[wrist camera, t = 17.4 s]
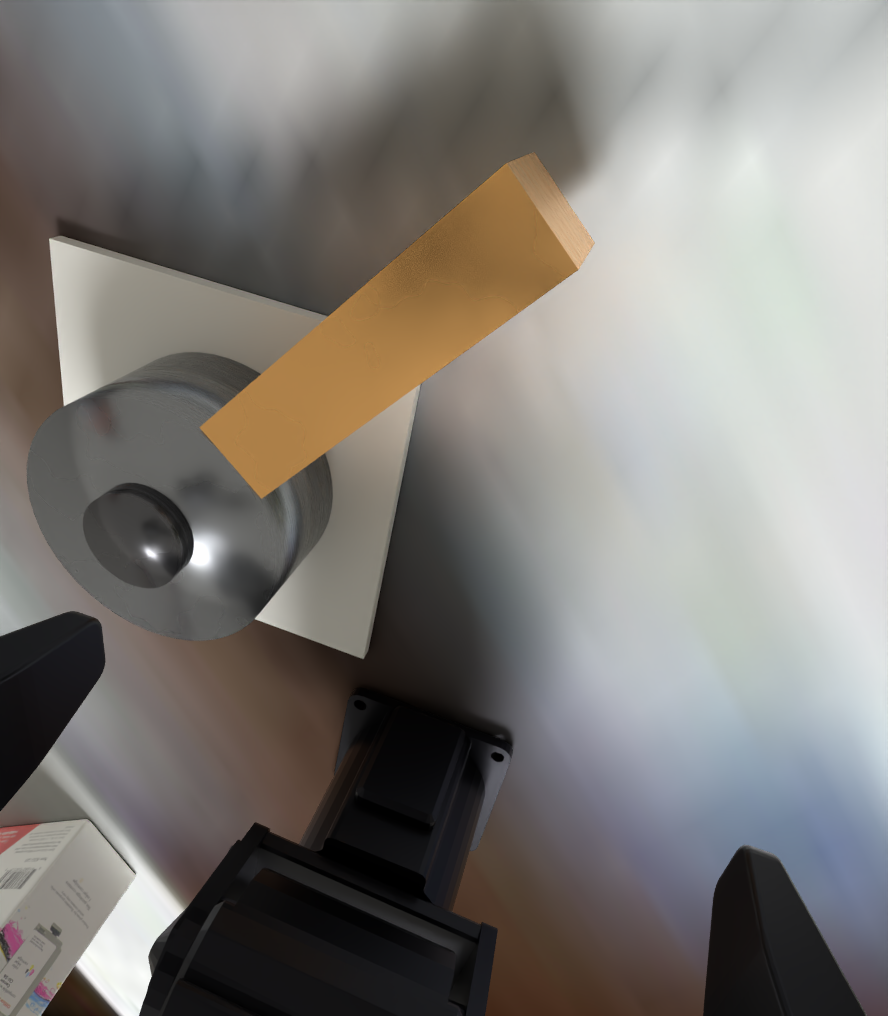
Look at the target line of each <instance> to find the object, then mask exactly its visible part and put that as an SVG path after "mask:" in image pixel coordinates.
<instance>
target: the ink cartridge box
mask: <svg viewBox="0 0 888 1016" xmlns="http://www.w3.org/2000/svg"><path fill="white" fill-rule="evenodd" d="M135 877H136V875H135V873H134V872H133V871H132V870H131V869H130V868H129V867H128V865H127V864H126V863H125V862H124V861H123V859H122V858H121V857H120V856H119V855H118V854H117V852H116V851H115V850H114V849H113V848H112V846H111V845H110V844H109V843H108V842H107V840H106V839H105V838H104V837H103V836H102V834H101V833H100V832H99V831H98V830H97V829H96V827H95V826H94V825H93V824H92V823H91V822H90V821H89V820H88V819H81V820H71V821H62V822H52V823H43V824H33V825H24V826H13V827H4V828H0V1016H41V1014H42V1013H43V1011H44V1010H45V1008H46V1007H47V1005H48V1004H49V1003H50V1001H51V1000H52V998H53V997H54V995H55V994H56V992H57V991H58V989H59V988H60V986H61V985H62V983H63V982H64V981H65V979H66V978H67V976H68V975H69V973H70V972H71V970H72V969H73V967H74V966H75V965H76V963H77V962H78V960H79V959H80V957H81V956H82V954H83V953H84V952H85V950H86V949H87V947H88V946H89V944H90V943H91V941H92V940H93V939H94V937H95V936H96V934H97V933H98V931H99V930H100V928H101V927H102V925H103V924H104V922H105V921H106V919H107V918H108V916H109V915H110V913H111V912H112V911H113V909H114V908H115V906H116V905H117V903H118V902H119V900H120V899H121V897H122V896H123V894H124V893H125V892H126V891H127V889H128V888H129V886H130V885H131V883H132V882H133V880H134V879H135Z"/></svg>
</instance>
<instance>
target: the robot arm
mask: <svg viewBox="0 0 888 1016" xmlns="http://www.w3.org/2000/svg"><path fill="white" fill-rule="evenodd" d="M104 666H105V652H104V643H103V634H102V626H101V624H100V622H99V621H98V619H96V618H94V617H91V616H88V615H85V614H82V613H79V612H75V611H71V612H66V613H63V614H60V615H57V616H55V617H52V618H49V619H46V620H44V621H41V622H38V623H36V624H33V625H30V626H27V627H25V628H22V629H19V630H16V631H14V632H11V633H8V634H5V635H3V636H0V811H1V810H2V809H3V808H4V806H5V805H6V804H7V803H8V802H9V801H10V799H11V798H12V797H13V796H14V795H15V793H16V792H17V791H18V790H19V789H20V788H21V786H22V785H23V784H24V783H25V782H26V780H27V779H28V778H29V777H30V775H31V774H32V773H33V772H34V770H35V769H36V768H37V767H38V765H39V764H40V763H41V761H42V760H43V759H44V757H45V756H46V754H47V753H48V752H49V750H50V749H51V747H52V746H53V744H54V743H55V742H56V740H57V739H58V737H59V736H60V734H61V733H62V731H63V730H64V729H65V727H66V726H67V724H68V723H69V721H70V720H71V718H72V717H73V716H74V714H75V713H76V711H77V710H78V708H79V707H80V705H81V704H82V703H83V701H84V700H85V698H86V697H87V695H88V694H89V692H90V691H91V690H92V688H93V687H94V685H95V684H96V682H97V681H98V679H99V678H100V676H101V674H102V672H103V669H104ZM360 700H361V701H360ZM362 701H363V702H362ZM497 752H499V753H501V754H499V753H497ZM512 754H513V749H512V747H511V746H510V745H509V744H508V743H507V742H505V741H503V740H501V739H498V738H496V737H493V736H490V735H488V734H485V733H482V732H480V731H477V730H474V729H472V728H469V727H466V726H464V725H461V724H458V723H456V722H453V721H450V720H448V719H445V718H442V717H440V716H437V715H434V714H432V713H429V712H426V711H424V710H421V709H418V708H416V707H413V706H410V705H408V704H405V703H402V702H400V701H397V700H394V699H392V698H389V697H386V696H384V695H381V694H378V693H376V692H373V691H370V690H368V689H364V688H357V689H355V690H354V691H353V692H352V694H351V696H350V698H349V700H348V704H347V709H346V715H345V720H344V725H343V731H342V736H341V741H340V747H339V752H338V757H337V763H336V768H335V773H334V777H333V779H332V781H331V783H330V785H329V787H328V789H327V791H326V793H325V795H324V797H323V799H322V801H321V802H320V804H319V806H318V808H317V810H316V812H315V814H314V816H313V818H312V820H311V822H310V824H309V826H308V828H307V830H306V831H305V833H304V835H303V837H302V839H301V841H300V843H299V844H297V843H294V842H292V841H290V840H288V839H285V838H283V837H281V836H279V835H276V834H274V833H272V832H270V828H268V827H265V826H263V825H261V824H259V823H256V822H255V823H254V824H253V826H252V827H251V828H250V830H249V831H248V832H247V834H246V835H245V837H244V838H243V839H242V841H240V840H237V841H236V843H235V844H234V846H232V847H231V848H230V850H229V851H228V853H227V855H226V856H225V858H224V859H223V860H222V862H221V863H220V864H219V866H218V867H217V868H216V870H215V871H214V872H213V874H212V875H211V877H210V878H209V879H208V881H207V882H206V883H205V885H204V886H203V887H202V889H201V890H200V891H199V893H198V894H197V895H196V897H195V898H194V899H193V901H192V902H191V903H190V905H189V906H188V907H187V908H186V909H185V910H184V911H183V912H182V913H181V914H180V915H179V916H178V917H177V918H176V919H175V921H174V922H173V923H172V924H171V925H170V926H169V927H168V928H167V929H166V930H165V931H164V932H163V933H162V934H161V935H160V936H159V937H158V938H157V940H156V941H155V943H154V944H153V946H152V948H151V950H150V953H149V956H148V958H149V964H150V969H151V974H152V977H151V980H150V983H149V986H148V990H147V994H146V996H145V999H144V1002H143V1005H142V1008H141V1011H140V1015H139V1016H485V1012H486V1005H487V998H488V991H489V985H490V978H491V971H492V965H493V958H494V951H495V944H496V938H497V931H498V929H497V928H495V927H493V926H490V925H488V924H486V923H483V922H482V923H481V925H480V924H478V923H476V922H474V921H471V920H469V919H467V918H465V917H462V916H460V915H458V914H456V913H453V912H452V910H453V906H454V903H455V899H456V896H457V893H458V889H459V886H460V882H461V879H462V875H463V872H464V868H465V865H466V861H467V858H468V854H469V851H473V850H476V848H477V847H478V844H479V842H480V839H481V837H482V834H483V831H484V829H485V826H486V824H487V821H488V819H489V816H490V813H491V811H492V808H493V806H494V803H495V800H496V798H497V795H498V793H499V790H500V787H501V785H502V782H503V780H504V777H505V774H506V772H507V769H508V767H509V764H510V761H511V758H512ZM703 1016H867V1015H866V1014H865V1012H864V1010H863V1008H862V1006H861V1005H860V1003H859V1001H858V999H857V997H856V996H855V994H854V992H853V990H852V988H851V987H850V985H849V983H848V981H847V979H846V978H845V976H844V974H843V972H842V970H841V969H840V967H839V965H838V963H837V961H836V960H835V958H834V956H833V954H832V952H831V951H830V949H829V947H828V945H827V943H826V941H825V940H824V938H823V936H822V934H821V932H820V931H819V929H818V927H817V925H816V923H815V922H814V920H813V918H812V916H811V914H810V913H809V911H808V909H807V907H806V905H805V904H804V902H803V900H802V898H801V896H800V895H799V893H798V891H797V889H796V887H795V886H794V884H793V882H792V880H791V878H790V877H789V875H788V873H787V871H786V869H785V868H784V866H783V864H782V862H781V861H780V860H779V858H778V857H777V856H775V855H774V854H772V853H770V852H767V851H764V850H761V849H758V848H755V847H752V846H749V845H743V846H741V847H740V848H739V849H738V850H737V851H736V853H735V854H734V856H733V858H732V859H731V861H730V862H729V864H728V866H727V867H726V869H725V870H724V872H723V874H722V875H721V877H720V878H719V880H718V882H717V885H716V888H715V892H714V897H713V907H712V918H711V930H710V941H709V953H708V965H707V976H706V988H705V1000H704V1013H703Z"/></svg>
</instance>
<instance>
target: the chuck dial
mask: <svg viewBox="0 0 888 1016" xmlns="http://www.w3.org/2000/svg"><path fill="white" fill-rule="evenodd" d="M594 244H595V243H594V241H593V240H592V238H591V237H590V235H589V234H588V232H587V231H586V229H585V228H584V226H583V225H582V223H581V222H580V220H579V219H578V217H577V215H576V214H575V212H574V211H573V209H572V208H571V206H570V205H569V203H568V202H567V200H566V199H565V197H564V196H563V194H562V193H561V191H560V190H559V188H558V187H557V185H556V184H555V182H554V181H553V179H552V178H551V176H550V175H549V173H548V172H547V170H546V169H545V167H544V166H543V164H542V163H541V161H540V160H539V158H538V157H537V155H536V154H535V152H533V153H530V154H528V155H525V156H523V157H520V158H518V159H515V160H513V161H510V162H508V163H506V164H505V165H503V166H502V167H501V168H500V169H499V170H498V171H496V172H495V173H494V174H493V175H492V176H491V177H489V178H488V179H487V180H486V181H485V182H484V183H483V184H481V185H480V186H479V187H478V188H477V189H476V190H474V191H473V192H472V193H471V194H470V195H469V196H467V197H466V198H465V199H464V200H463V201H462V202H460V203H459V204H458V205H457V206H456V207H455V208H453V209H452V210H451V211H450V212H449V213H448V214H447V215H445V216H444V217H443V218H442V219H441V220H440V221H438V222H437V223H436V224H435V225H434V226H433V227H431V228H430V229H429V230H428V231H427V232H426V233H424V234H423V235H422V236H421V237H420V238H419V239H418V240H416V241H415V242H414V243H413V244H412V245H411V246H409V247H408V248H407V249H406V250H405V251H404V252H402V253H401V254H400V255H399V256H398V257H397V258H395V259H394V260H393V261H392V262H391V263H390V264H388V265H387V266H386V267H385V268H384V269H383V270H382V271H380V272H379V273H378V274H377V275H376V276H375V277H373V278H372V279H371V280H370V281H369V282H368V283H366V284H365V285H364V286H363V287H362V288H361V289H359V290H358V291H357V292H356V293H355V294H354V295H352V296H351V297H350V298H349V299H348V300H347V301H346V302H344V303H343V304H342V305H341V306H340V307H339V308H337V309H336V310H335V311H334V312H333V313H332V314H330V315H329V316H328V317H327V318H326V319H325V320H323V321H322V322H321V323H320V324H319V325H318V326H316V327H315V328H314V329H313V330H312V331H311V332H310V333H308V334H307V335H306V336H305V337H304V338H303V339H301V340H300V341H299V342H298V343H297V344H296V345H294V346H293V347H292V348H291V349H290V350H289V351H287V352H286V353H285V354H284V355H283V356H282V357H281V358H279V359H278V360H277V361H276V362H275V363H274V364H272V365H271V366H270V367H269V368H268V369H267V370H265V371H264V372H263V373H262V374H260V373H258V372H257V371H255V370H253V369H251V368H249V367H248V366H246V365H244V364H241V363H239V362H237V361H234V360H232V359H229V358H226V357H222V356H218V355H215V354H209V353H201V352H182V353H176V354H170V355H167V356H165V357H162V358H159V359H156V360H154V361H153V362H151V363H149V364H147V365H145V366H143V367H141V368H139V369H137V370H135V371H133V372H131V373H129V374H127V375H125V376H123V377H121V378H119V379H117V380H115V381H113V382H111V383H109V384H107V385H105V386H103V387H101V388H99V389H97V390H95V391H93V392H91V393H89V394H87V395H85V396H83V397H81V398H79V399H77V400H75V401H73V402H71V403H69V404H67V405H66V406H64V407H62V408H60V409H58V410H57V411H55V412H54V413H53V414H52V415H51V416H49V417H48V418H47V419H46V420H45V421H44V423H43V424H42V425H41V426H40V428H39V429H38V431H37V433H36V435H35V437H34V439H33V441H32V444H31V447H30V451H29V454H28V462H27V485H28V491H29V497H30V501H31V505H32V508H33V512H34V515H35V517H36V520H37V522H38V524H39V527H40V529H41V531H42V533H43V535H44V537H45V539H46V541H47V543H48V544H49V546H50V547H51V549H52V551H53V552H54V554H55V555H56V557H57V558H58V560H59V561H60V562H61V563H62V565H63V566H64V567H65V569H66V570H67V571H68V572H69V573H70V575H71V576H72V577H73V578H74V579H75V580H76V581H77V582H78V583H79V584H80V585H81V586H82V587H83V588H84V589H85V590H86V591H87V592H88V593H89V594H90V595H91V596H93V597H94V598H95V599H96V600H98V601H99V602H100V603H101V604H103V605H104V606H105V607H107V608H108V609H110V610H111V611H112V612H114V613H115V614H117V615H118V616H120V617H122V618H124V619H125V620H127V621H129V622H131V623H133V624H135V625H137V626H139V627H141V628H144V629H146V630H148V631H151V632H154V633H157V634H160V635H163V636H167V637H171V638H176V639H183V640H212V639H218V638H222V637H225V636H229V635H231V634H233V633H235V632H238V631H240V630H241V629H243V628H244V627H246V626H247V625H248V624H250V623H251V622H252V621H253V620H254V619H255V618H256V617H257V616H258V615H259V613H260V612H261V611H262V610H263V609H264V607H265V606H266V605H267V604H268V603H269V601H270V600H271V599H272V598H273V596H274V595H275V594H276V593H277V592H278V590H279V589H280V588H281V587H282V585H283V584H284V583H285V582H286V581H287V579H288V578H289V577H290V576H291V574H292V573H293V572H294V571H295V570H296V568H297V567H298V566H299V565H300V564H301V562H302V561H303V560H304V559H305V557H306V556H307V555H308V554H309V553H310V551H311V550H312V549H313V548H314V546H315V545H316V544H317V543H318V541H319V540H320V538H321V537H322V535H323V534H324V531H325V529H326V527H327V524H328V522H329V518H330V514H331V510H332V500H333V488H332V478H331V472H330V467H329V464H328V460H327V457H326V454H325V453H326V452H327V451H328V450H330V449H331V448H333V447H334V446H335V445H337V444H338V443H339V442H341V441H342V440H344V439H345V438H346V437H348V436H349V435H351V434H352V433H353V432H355V431H356V430H357V429H359V428H360V427H362V426H363V425H364V424H366V423H367V422H368V421H370V420H371V419H373V418H374V417H375V416H377V415H378V414H380V413H381V412H382V411H384V410H385V409H386V408H388V407H389V406H391V405H392V404H393V403H395V402H396V401H398V400H399V399H400V398H402V397H403V396H404V395H406V394H407V393H409V392H410V391H411V390H413V389H414V388H415V387H417V386H418V385H420V384H421V383H422V382H424V381H425V380H427V379H428V378H429V377H431V376H432V375H433V374H435V373H436V372H438V371H439V370H440V369H442V368H443V367H445V366H446V365H447V364H449V363H450V362H451V361H453V360H454V359H456V358H457V357H458V356H460V355H461V354H462V353H464V352H465V351H467V350H468V349H469V348H471V347H472V346H474V345H475V344H476V343H478V342H479V341H480V340H482V339H483V338H485V337H486V336H487V335H489V334H490V333H492V332H493V331H494V330H496V329H497V328H498V327H500V326H501V325H503V324H504V323H505V322H507V321H508V320H509V319H511V318H512V317H514V316H515V315H516V314H518V313H519V312H521V311H522V310H523V309H525V308H526V307H527V306H529V305H530V304H532V303H533V302H534V301H536V300H537V299H539V298H540V297H541V296H543V295H544V294H545V293H547V292H548V291H550V290H551V289H552V288H554V287H555V286H556V285H558V284H559V283H561V282H562V281H563V280H565V279H566V278H568V277H569V276H570V275H572V274H573V273H574V272H576V271H577V270H578V269H579V268H580V266H581V265H582V263H583V261H584V260H585V258H586V257H587V255H588V253H589V252H590V250H591V248H592V247H593V245H594Z"/></svg>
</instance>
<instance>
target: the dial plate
mask: <svg viewBox="0 0 888 1016" xmlns="http://www.w3.org/2000/svg"><path fill="white" fill-rule="evenodd" d="M49 242H50V253H51V265H52V276H53V287H54V298H55V310H56V321H57V332H58V343H59V354H60V366H61V377H62V388H63V399H64V406H66V405H67V404H69V403H71V402H73V401H75V400H77V399H79V398H81V397H83V396H85V395H87V394H89V393H91V392H93V391H95V390H97V389H99V388H101V387H103V386H105V385H107V384H109V383H111V382H113V381H115V380H117V379H119V378H121V377H123V376H125V375H127V374H129V373H131V372H133V371H135V370H137V369H139V368H141V367H143V366H145V365H147V364H149V363H151V362H153V361H154V360H156V359H159V358H162V357H165V356H167V355H170V354H176V353H182V352H201V353H209V354H215V355H218V356H222V357H226V358H229V359H232V360H234V361H237V362H239V363H241V364H244V365H246V366H248V367H249V368H251V369H253V370H255V371H257V372H258V373H260V374H262V373H263V372H264V371H265V370H267V369H268V368H269V367H270V366H271V365H272V364H274V363H275V362H276V361H277V360H278V359H279V358H281V357H282V356H283V355H284V354H285V353H286V352H287V351H289V350H290V349H291V348H292V347H293V346H294V345H296V344H297V343H298V342H299V341H300V340H301V339H303V338H304V337H305V336H306V335H307V334H308V333H310V332H311V331H312V330H313V329H314V328H315V327H316V326H318V325H319V324H320V323H321V322H322V321H323V320H325V319H326V318H327V317H328V316H325V315H321V314H318V313H315V312H312V311H308V310H305V309H302V308H298V307H295V306H292V305H288V304H285V303H282V302H279V301H275V300H272V299H269V298H265V297H262V296H259V295H255V294H252V293H249V292H246V291H242V290H239V289H236V288H232V287H229V286H226V285H222V284H219V283H216V282H212V281H209V280H206V279H203V278H199V277H196V276H193V275H189V274H186V273H183V272H179V271H176V270H173V269H170V268H166V267H163V266H160V265H156V264H153V263H150V262H146V261H143V260H140V259H137V258H133V257H130V256H127V255H123V254H120V253H117V252H113V251H110V250H107V249H103V248H100V247H97V246H94V245H90V244H87V243H84V242H80V241H77V240H74V239H70V238H67V237H64V236H57V237H53V238H49ZM420 386H421V384H420V385H418V386H417V387H415V388H414V389H413V390H411V391H410V392H409V393H407V394H406V395H404V396H403V397H402V398H400V399H399V400H398V401H396V402H395V403H393V404H392V405H391V406H389V407H388V408H386V409H385V410H384V411H382V412H381V413H380V414H378V415H377V416H375V417H374V418H373V419H371V420H370V421H368V422H367V423H366V424H364V425H363V426H362V427H360V428H359V429H357V430H356V431H355V432H353V433H352V434H351V435H349V436H348V437H346V438H345V439H344V440H342V441H341V442H339V443H338V444H337V445H335V446H334V447H333V448H331V449H330V450H328V451H327V452H326V453H325V454H326V457H327V460H328V464H329V467H330V472H331V478H332V488H333V500H332V510H331V514H330V518H329V522H328V524H327V527H326V529H325V531H324V534H323V535H322V537H321V538H320V540H319V541H318V543H317V544H316V545H315V546H314V548H313V549H312V550H311V551H310V553H309V554H308V555H307V556H306V557H305V559H304V560H303V561H302V562H301V564H300V565H299V566H298V567H297V568H296V570H295V571H294V572H293V573H292V574H291V576H290V577H289V578H288V579H287V581H286V582H285V583H284V584H283V585H282V587H281V588H280V589H279V590H278V592H277V593H276V594H275V595H274V596H273V598H272V599H271V600H270V601H269V603H268V604H267V605H266V606H265V607H264V609H263V610H262V611H261V612H260V613H259V615H258V616H257V617H256V618H255V619H256V620H259V621H261V622H264V623H267V624H270V625H272V626H275V627H278V628H280V629H283V630H286V631H289V632H291V633H294V634H297V635H299V636H302V637H305V638H308V639H310V640H313V641H316V642H318V643H321V644H324V645H326V646H329V647H332V648H335V649H337V650H340V651H343V652H345V653H348V654H351V655H354V656H356V657H359V658H362V659H364V657H365V655H366V654H367V652H368V649H369V644H370V639H371V634H372V629H373V624H374V619H375V614H376V609H377V604H378V599H379V594H380V589H381V584H382V579H383V574H384V568H385V563H386V558H387V553H388V548H389V543H390V538H391V533H392V528H393V523H394V518H395V513H396V508H397V503H398V498H399V493H400V488H401V483H402V477H403V472H404V467H405V462H406V457H407V452H408V447H409V442H410V437H411V432H412V427H413V422H414V417H415V412H416V407H417V402H418V397H419V392H420Z"/></svg>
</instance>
